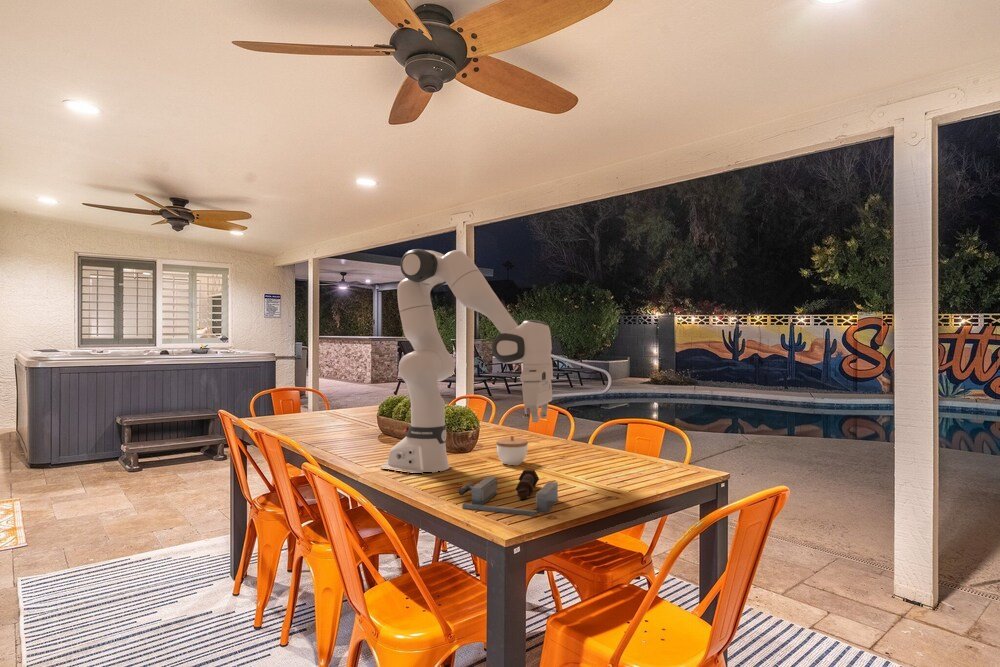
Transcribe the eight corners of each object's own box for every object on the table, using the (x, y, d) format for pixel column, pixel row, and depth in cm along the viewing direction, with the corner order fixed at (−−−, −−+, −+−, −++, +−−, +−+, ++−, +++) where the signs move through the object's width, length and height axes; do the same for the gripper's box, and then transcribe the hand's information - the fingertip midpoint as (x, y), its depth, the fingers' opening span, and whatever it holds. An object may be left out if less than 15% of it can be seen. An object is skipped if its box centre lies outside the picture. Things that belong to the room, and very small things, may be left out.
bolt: (520, 507, 149) (526, 490, 163) (536, 499, 148) (541, 482, 163) (509, 488, 149) (516, 473, 164) (525, 479, 148) (531, 465, 163)
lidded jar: (494, 466, 188) (494, 438, 188) (498, 459, 198) (498, 433, 198) (526, 467, 186) (526, 439, 187) (528, 460, 197) (528, 433, 197)
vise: (462, 508, 141) (462, 489, 141) (483, 493, 155) (483, 476, 155) (543, 516, 134) (543, 497, 135) (557, 500, 148) (557, 482, 148)
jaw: (454, 503, 145) (454, 485, 145) (471, 491, 156) (471, 475, 156) (482, 506, 143) (482, 488, 143) (497, 493, 154) (497, 477, 154)
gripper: (536, 371, 179) (538, 415, 179) (518, 376, 160) (520, 424, 160) (556, 371, 177) (558, 415, 177) (539, 375, 158) (541, 424, 158)
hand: (539, 419), depth 168 cm, fingers open, 8 cm apart
